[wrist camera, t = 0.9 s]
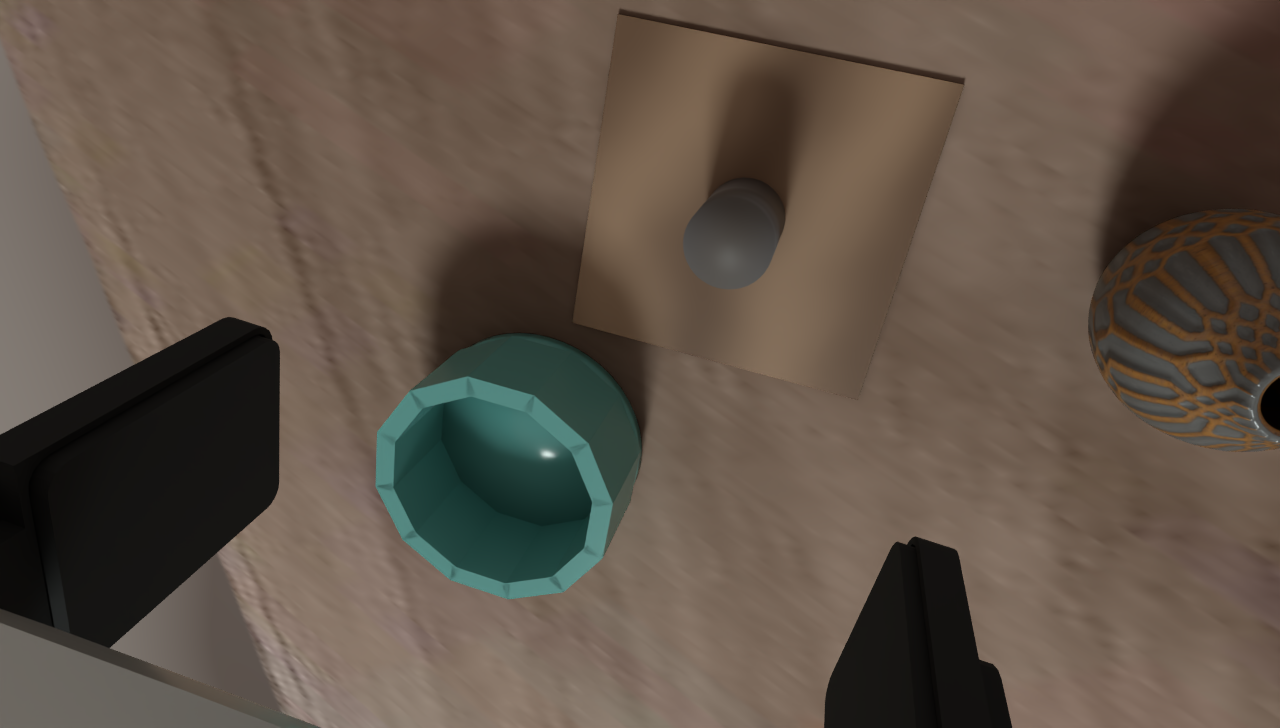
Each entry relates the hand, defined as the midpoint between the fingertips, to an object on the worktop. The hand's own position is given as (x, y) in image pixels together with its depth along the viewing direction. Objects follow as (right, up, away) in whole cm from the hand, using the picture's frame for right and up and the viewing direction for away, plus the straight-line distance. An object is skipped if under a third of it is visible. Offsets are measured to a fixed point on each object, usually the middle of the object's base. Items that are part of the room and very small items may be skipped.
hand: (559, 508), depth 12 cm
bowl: (-4, -1, +25) cm, 25 cm away
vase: (+20, +5, +16) cm, 26 cm away
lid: (+5, +8, +19) cm, 21 cm away
